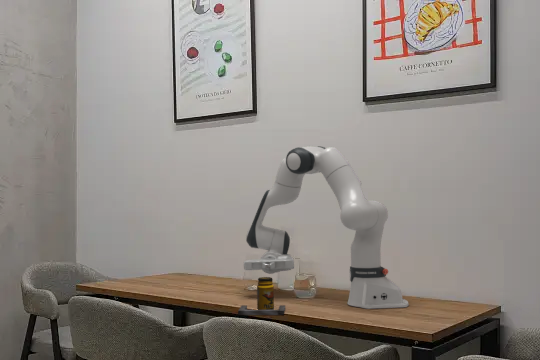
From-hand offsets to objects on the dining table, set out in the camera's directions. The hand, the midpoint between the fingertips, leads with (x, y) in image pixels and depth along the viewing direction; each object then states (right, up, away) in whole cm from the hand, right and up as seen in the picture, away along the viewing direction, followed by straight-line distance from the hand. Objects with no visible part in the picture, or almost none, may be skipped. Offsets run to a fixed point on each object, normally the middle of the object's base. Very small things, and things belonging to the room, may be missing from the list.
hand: (267, 266), depth 243 cm
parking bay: (-2, -13, -20) cm, 24 cm away
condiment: (-1, -14, -19) cm, 23 cm away
